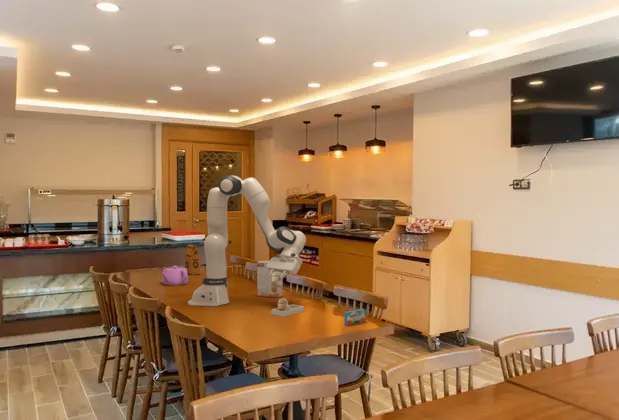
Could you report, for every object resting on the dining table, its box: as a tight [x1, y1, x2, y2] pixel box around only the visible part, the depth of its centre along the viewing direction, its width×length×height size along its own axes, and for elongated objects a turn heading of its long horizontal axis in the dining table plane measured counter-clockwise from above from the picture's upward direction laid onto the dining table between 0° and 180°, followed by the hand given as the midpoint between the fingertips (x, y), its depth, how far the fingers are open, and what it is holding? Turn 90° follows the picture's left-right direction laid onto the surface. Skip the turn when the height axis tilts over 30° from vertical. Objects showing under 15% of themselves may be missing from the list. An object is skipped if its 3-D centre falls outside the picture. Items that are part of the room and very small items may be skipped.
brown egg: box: [277, 297, 289, 312], centre depth 254 cm, size 5×5×8 cm
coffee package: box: [184, 244, 201, 276], centre depth 384 cm, size 10×12×22 cm
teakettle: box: [161, 265, 189, 287], centre depth 341 cm, size 17×17×12 cm
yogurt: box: [343, 308, 366, 327], centre depth 238 cm, size 12×2×6 cm, turn 129°
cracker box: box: [256, 260, 284, 299], centre depth 301 cm, size 14×6×21 cm, turn 71°
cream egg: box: [272, 271, 281, 287], centre depth 267 cm, size 5×5×8 cm
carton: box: [270, 303, 305, 318], centre depth 257 cm, size 16×8×3 cm, turn 141°
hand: (275, 277), depth 266 cm, fingers closed on cream egg, 5 cm apart
